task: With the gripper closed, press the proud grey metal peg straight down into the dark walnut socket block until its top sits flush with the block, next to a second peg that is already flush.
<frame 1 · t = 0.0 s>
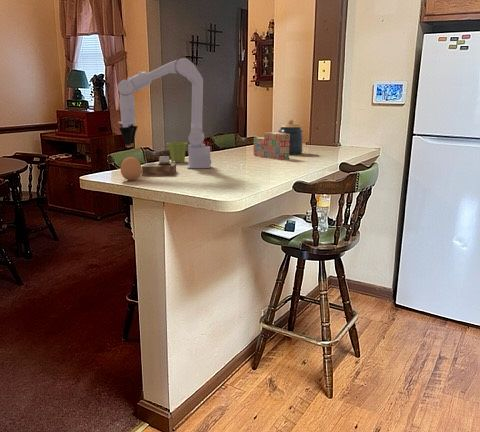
hand: (129, 144, 197), 10 cm above the table, fingers open, 7 cm apart
peg: (164, 161, 183), point 5 cm above the table, slide at 3.0 cm
egg: (131, 181, 169), on the table
plant pot: (177, 162, 219), on the table
stack of blocks: (270, 157, 235), on the table
canister: (290, 153, 251), on the table
socket block: (159, 173, 184), on the table
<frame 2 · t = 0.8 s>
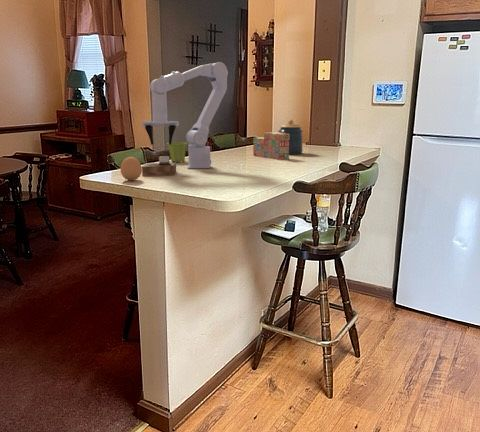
hand: (161, 144, 192), 10 cm above the table, fingers open, 7 cm apart
nothing on the table moved.
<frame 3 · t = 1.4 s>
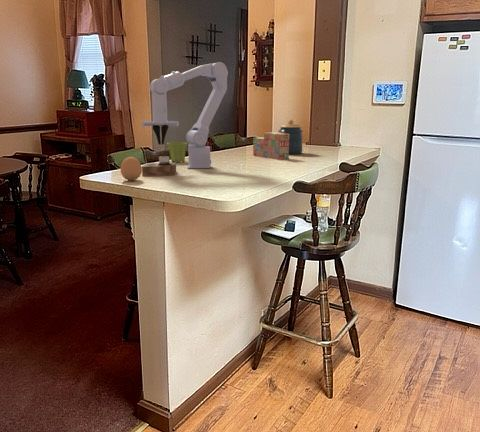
hand: (161, 144, 191), 10 cm above the table, fingers closed
nothing on the table moved.
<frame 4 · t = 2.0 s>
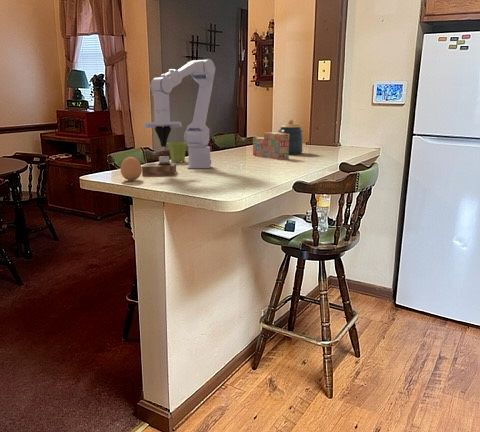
hand: (163, 146, 182), 10 cm above the table, fingers closed
nothing on the table moved.
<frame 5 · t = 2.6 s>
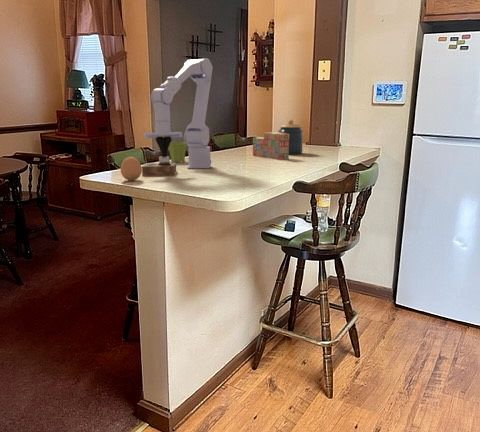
hand: (164, 156, 183), 7 cm above the table, fingers closed, pressing on peg
peg: (164, 161, 183), point 5 cm above the table, slide at 3.0 cm, touching gripper
everything else where it was.
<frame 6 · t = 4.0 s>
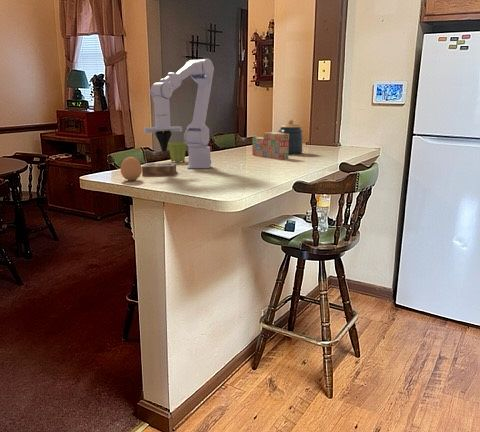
hand: (164, 151, 182), 9 cm above the table, fingers closed
peg: (164, 168, 184), point 2 cm above the table, slide at 0.3 cm
everything else where it was.
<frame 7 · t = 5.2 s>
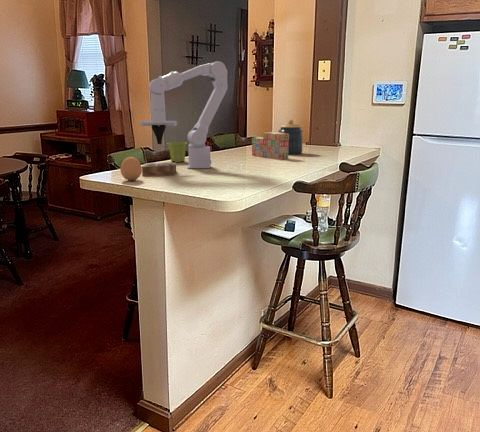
hand: (159, 143, 193), 10 cm above the table, fingers closed
nothing on the table moved.
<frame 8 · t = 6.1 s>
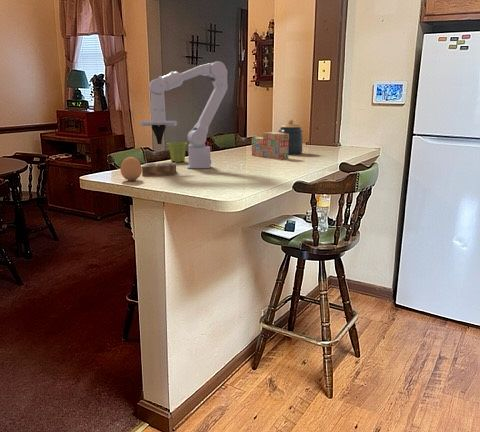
hand: (159, 143, 193), 10 cm above the table, fingers closed
nothing on the table moved.
at the end: peg slide at 0.3 cm; peg touching nothing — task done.
